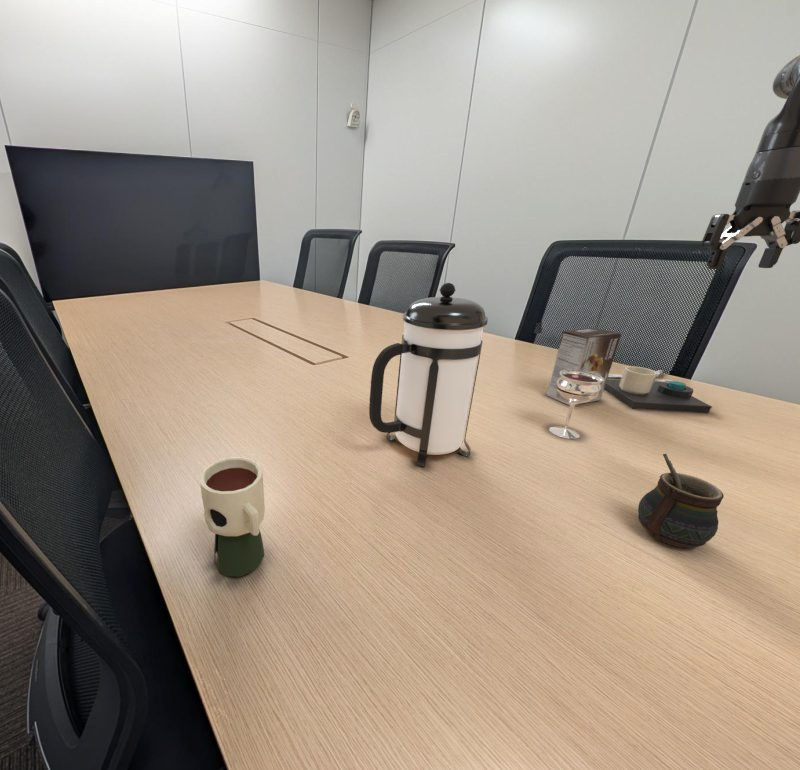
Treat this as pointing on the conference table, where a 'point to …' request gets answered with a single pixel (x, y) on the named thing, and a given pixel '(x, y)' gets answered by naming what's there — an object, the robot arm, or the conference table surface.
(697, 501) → the mate gourd
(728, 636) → the conference table surface
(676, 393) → the scale
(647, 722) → the conference table surface
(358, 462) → the conference table surface
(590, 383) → the wineglass
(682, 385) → the tare button
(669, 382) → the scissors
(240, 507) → the character mug
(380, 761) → the conference table surface
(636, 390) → the bowl
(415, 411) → the coffee press
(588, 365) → the coffee box
